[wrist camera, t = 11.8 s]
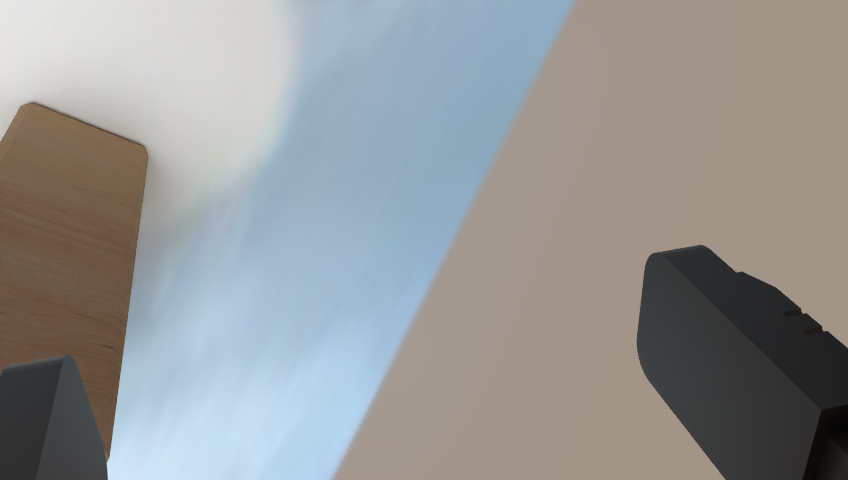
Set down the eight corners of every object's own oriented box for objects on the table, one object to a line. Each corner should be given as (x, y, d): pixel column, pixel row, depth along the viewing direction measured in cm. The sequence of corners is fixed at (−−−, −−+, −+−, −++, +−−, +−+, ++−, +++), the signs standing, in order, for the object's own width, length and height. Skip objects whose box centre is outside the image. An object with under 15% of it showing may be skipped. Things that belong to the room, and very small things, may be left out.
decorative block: (66, 335, 40) (-30, 737, 23) (-59, 298, 37) (-270, 719, 20) (156, 148, 36) (122, 458, 19) (25, 94, 34) (-144, 396, 17)
